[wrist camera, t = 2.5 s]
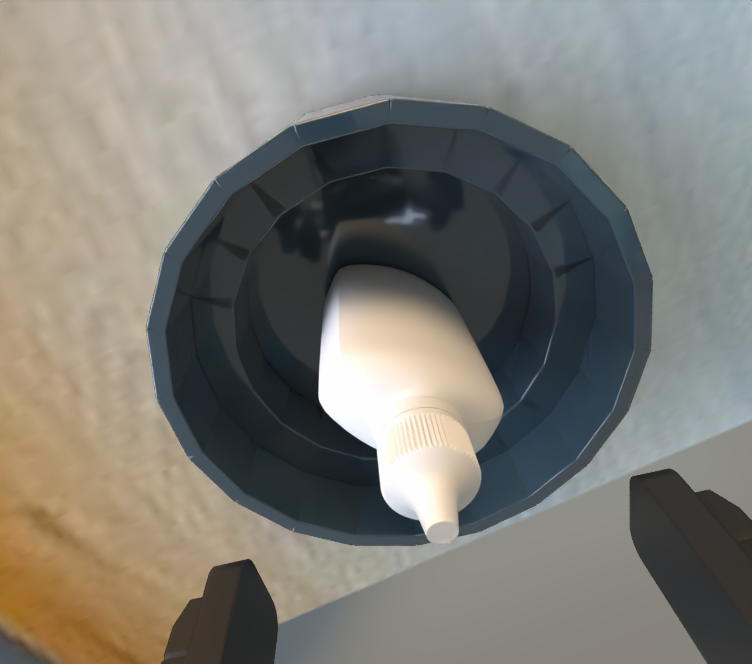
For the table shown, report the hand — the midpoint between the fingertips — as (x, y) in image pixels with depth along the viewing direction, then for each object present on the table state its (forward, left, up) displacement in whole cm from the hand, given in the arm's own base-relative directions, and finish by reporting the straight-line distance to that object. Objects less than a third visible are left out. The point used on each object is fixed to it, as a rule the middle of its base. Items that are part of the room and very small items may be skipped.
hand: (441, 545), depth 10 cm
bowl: (0, 0, -13) cm, 13 cm away
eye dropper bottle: (0, 0, -12) cm, 12 cm away
